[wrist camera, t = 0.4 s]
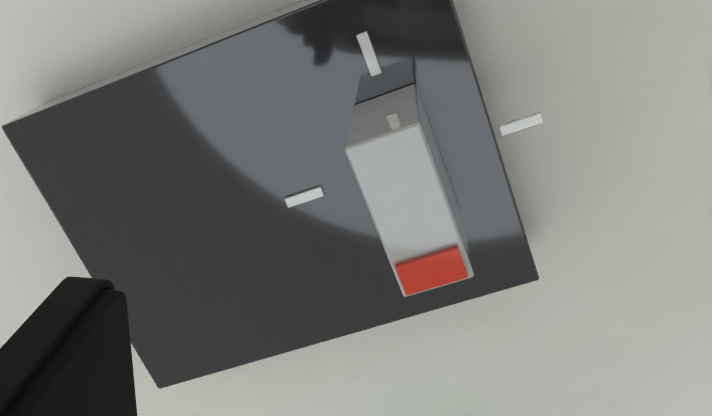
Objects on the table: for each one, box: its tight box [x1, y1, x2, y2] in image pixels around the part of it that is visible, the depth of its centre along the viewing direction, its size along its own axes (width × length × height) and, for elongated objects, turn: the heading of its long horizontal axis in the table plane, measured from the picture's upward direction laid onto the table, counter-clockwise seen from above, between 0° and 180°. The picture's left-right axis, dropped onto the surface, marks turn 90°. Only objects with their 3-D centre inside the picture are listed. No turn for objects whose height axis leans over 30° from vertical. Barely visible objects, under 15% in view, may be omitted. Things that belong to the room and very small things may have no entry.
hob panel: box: [2, 0, 543, 389], centre depth 25 cm, size 12×18×3 cm
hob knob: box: [344, 84, 474, 297], centre depth 21 cm, size 5×2×5 cm, turn 21°
